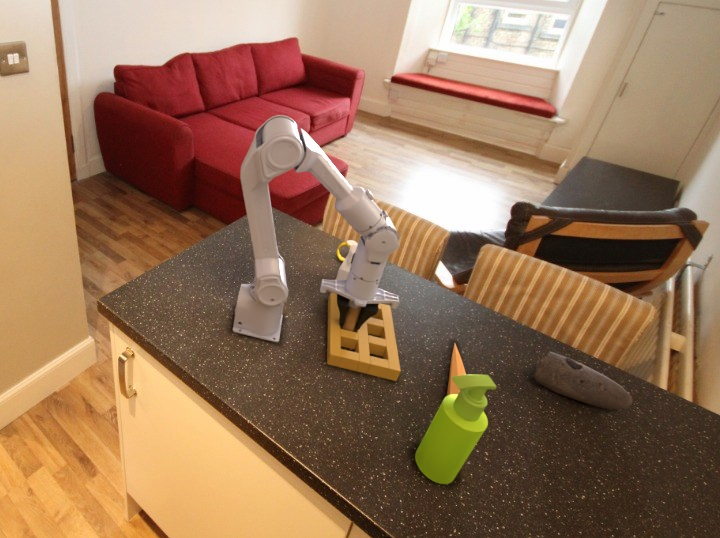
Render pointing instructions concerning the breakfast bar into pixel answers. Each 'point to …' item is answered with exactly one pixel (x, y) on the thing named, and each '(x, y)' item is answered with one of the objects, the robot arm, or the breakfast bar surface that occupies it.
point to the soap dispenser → (455, 429)
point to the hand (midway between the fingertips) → (348, 324)
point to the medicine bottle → (346, 264)
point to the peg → (351, 317)
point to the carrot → (455, 371)
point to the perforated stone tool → (580, 383)
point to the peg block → (363, 343)
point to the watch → (348, 243)
